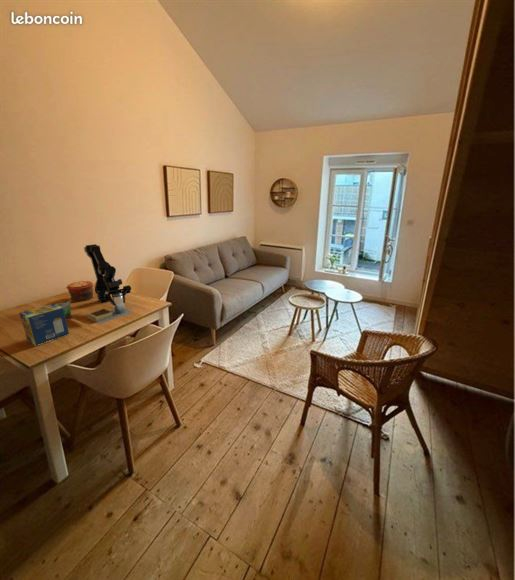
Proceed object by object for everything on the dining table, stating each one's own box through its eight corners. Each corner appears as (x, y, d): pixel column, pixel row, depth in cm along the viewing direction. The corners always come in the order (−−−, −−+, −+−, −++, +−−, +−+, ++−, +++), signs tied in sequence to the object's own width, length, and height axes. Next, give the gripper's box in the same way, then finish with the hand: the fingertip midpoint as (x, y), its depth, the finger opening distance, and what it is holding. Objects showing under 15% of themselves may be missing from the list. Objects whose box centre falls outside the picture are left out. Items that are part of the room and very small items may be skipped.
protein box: (27, 341, 143) (18, 312, 138) (60, 329, 155) (54, 303, 150) (35, 347, 138) (27, 317, 133) (69, 334, 150) (63, 307, 145)
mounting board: (87, 320, 167) (86, 318, 166) (120, 308, 183) (120, 306, 183) (99, 325, 159) (99, 323, 159) (133, 313, 176) (133, 311, 175)
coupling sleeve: (113, 312, 174) (109, 294, 170) (121, 309, 179) (118, 291, 175) (118, 314, 171) (115, 295, 167) (127, 311, 175) (124, 293, 172)
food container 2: (64, 301, 197) (60, 286, 194) (83, 293, 212) (80, 280, 208) (82, 303, 193) (78, 288, 189) (100, 295, 207) (98, 281, 204)
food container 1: (54, 324, 162) (49, 307, 159) (49, 321, 166) (45, 305, 162) (77, 317, 171) (73, 301, 168) (73, 314, 175) (69, 299, 172)
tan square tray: (88, 318, 166) (87, 313, 165) (104, 313, 173) (103, 308, 172) (96, 322, 161) (95, 317, 160) (112, 316, 168) (112, 311, 167)
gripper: (94, 278, 164) (104, 301, 160) (127, 272, 176) (137, 293, 172) (93, 288, 172) (102, 310, 168) (125, 282, 184) (134, 302, 180)
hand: (119, 304), depth 172 cm, fingers closed on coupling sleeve, 6 cm apart
